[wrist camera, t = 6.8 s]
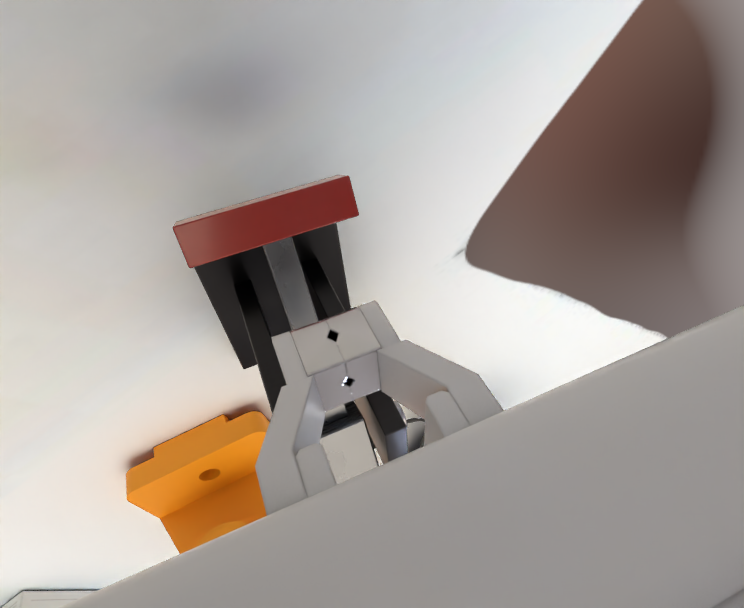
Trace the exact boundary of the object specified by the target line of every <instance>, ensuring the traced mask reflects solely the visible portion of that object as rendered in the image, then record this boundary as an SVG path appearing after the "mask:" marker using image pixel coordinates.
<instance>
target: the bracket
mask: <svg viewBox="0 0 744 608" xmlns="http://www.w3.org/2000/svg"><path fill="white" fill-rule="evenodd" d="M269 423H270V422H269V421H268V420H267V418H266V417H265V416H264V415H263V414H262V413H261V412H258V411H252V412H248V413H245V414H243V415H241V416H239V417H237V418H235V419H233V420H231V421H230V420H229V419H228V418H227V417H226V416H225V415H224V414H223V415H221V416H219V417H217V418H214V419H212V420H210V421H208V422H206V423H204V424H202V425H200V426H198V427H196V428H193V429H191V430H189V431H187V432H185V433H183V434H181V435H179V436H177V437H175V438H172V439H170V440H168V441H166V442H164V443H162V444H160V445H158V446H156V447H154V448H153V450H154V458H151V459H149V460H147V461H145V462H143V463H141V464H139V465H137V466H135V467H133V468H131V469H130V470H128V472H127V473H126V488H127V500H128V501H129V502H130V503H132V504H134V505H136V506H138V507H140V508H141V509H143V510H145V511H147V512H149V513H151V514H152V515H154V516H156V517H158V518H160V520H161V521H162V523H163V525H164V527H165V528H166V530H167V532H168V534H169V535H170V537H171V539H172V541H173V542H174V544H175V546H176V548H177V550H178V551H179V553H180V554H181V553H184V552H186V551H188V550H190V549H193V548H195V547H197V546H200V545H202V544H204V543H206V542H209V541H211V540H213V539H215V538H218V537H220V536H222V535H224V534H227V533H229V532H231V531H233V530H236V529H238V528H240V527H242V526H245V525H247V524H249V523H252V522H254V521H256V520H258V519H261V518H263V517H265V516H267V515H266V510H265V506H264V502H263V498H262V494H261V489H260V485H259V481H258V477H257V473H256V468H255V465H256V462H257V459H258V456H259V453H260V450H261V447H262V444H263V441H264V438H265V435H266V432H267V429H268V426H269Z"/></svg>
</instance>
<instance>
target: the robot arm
mask: <svg viewBox="0 0 744 608" xmlns="http://www.w3.org/2000/svg"><path fill="white" fill-rule="evenodd" d="M271 338H272V343H273V346H274V349H275V352H276V355H277V357H278V360H279V363H280V366H281V369H282V372H283V375H284V378H285V381H286V384H287V385H285V386H283V387H282V388H281V391H280V393H279V396H278V399H277V402H276V405H275V408H274V411H273V414H272V417H271V420H270V423H269V426H268V429H267V432H266V435H265V438H264V441H263V444H262V447H261V450H260V453H259V456H258V459H257V462H256V465H255V468H256V473H257V477H258V481H259V485H260V489H261V494H262V498H263V502H264V506H265V510H266V515H267V516H265V517H263V518H261V519H258V520H256V521H254V522H252V523H249V524H247V525H245V526H242V527H240V528H238V529H236V530H233V531H231V532H229V533H227V534H224V535H222V536H220V537H218V538H215V539H213V540H211V541H209V542H206V543H204V544H202V545H200V546H197V547H195V548H193V549H190V550H188V551H186V552H184V553H181V554H179V555H177V556H175V557H172V558H170V559H168V560H166V561H163V562H161V563H159V564H157V565H154V566H152V567H150V568H147V569H145V570H143V571H141V572H138V573H136V574H134V575H132V576H129V577H127V578H125V579H123V580H120V581H118V582H116V583H114V584H111V585H109V586H107V587H104V588H102V589H100V590H98V591H95V592H93V593H91V594H89V595H86V596H84V597H82V598H80V599H77V600H75V601H73V602H71V603H68V604H66V605H64V606H61V607H59V608H744V305H743V306H740V307H738V308H736V309H733V310H731V311H729V312H727V313H724V314H722V315H720V316H718V317H716V318H713V319H711V320H709V321H706V322H704V323H702V324H699V325H697V326H695V327H693V328H690V329H688V330H686V331H684V332H682V333H679V334H677V335H675V336H673V337H670V338H668V339H666V340H663V341H661V342H659V343H656V344H654V345H652V346H650V347H647V348H645V349H643V350H641V351H638V352H636V353H634V354H632V355H629V356H627V357H625V358H623V359H620V360H618V361H616V362H614V363H611V364H609V365H607V366H605V367H602V368H600V369H598V370H595V371H593V372H591V373H589V374H586V375H584V376H582V377H580V378H577V379H575V380H573V381H571V382H568V383H566V384H564V385H562V386H559V387H557V388H555V389H553V390H550V391H548V392H546V393H543V394H541V395H539V396H537V397H534V398H532V399H530V400H528V401H525V402H523V403H521V404H519V405H516V406H514V407H512V408H510V409H507V410H505V411H504V410H503V409H502V407H501V406H500V405H499V403H498V402H497V400H496V399H495V398H494V396H493V395H492V393H491V392H490V390H489V389H488V388H487V386H486V385H485V383H484V382H483V381H482V379H481V378H480V376H479V375H478V374H477V373H475V372H472V371H470V370H468V369H466V368H464V367H462V366H460V365H458V364H456V363H454V362H452V361H449V360H447V359H445V358H443V357H441V356H439V355H437V354H435V353H433V352H431V351H429V350H426V349H424V348H422V347H420V346H418V345H416V344H414V343H412V342H410V341H408V340H403V341H400V339H399V337H398V336H397V334H396V332H395V331H394V329H393V327H392V326H391V324H390V322H389V321H388V319H387V318H386V316H385V314H384V313H383V311H382V309H381V308H380V306H379V304H378V303H377V302H376V301H372V302H369V303H367V304H364V305H361V306H358V307H355V308H352V309H349V310H347V311H344V312H341V313H339V314H336V315H333V316H331V317H328V318H325V319H324V320H321V321H318V322H315V323H312V324H309V325H306V326H303V327H300V328H297V329H294V330H291V331H288V332H285V333H282V334H279V335H276V336H273V337H271ZM380 390H382V392H384V393H385V394H387V395H388V396H390V397H391V398H393V399H394V400H396V401H397V402H399V403H400V404H402V405H403V406H405V407H406V408H408V409H409V410H411V411H412V412H414V413H415V414H417V415H418V416H420V417H421V418H423V419H424V420H425V435H424V446H423V447H421V448H419V449H417V450H414V451H412V452H410V453H408V454H405V455H403V456H401V457H398V458H396V459H394V460H392V461H389V462H387V463H385V464H383V465H380V466H378V467H376V468H374V469H371V470H369V471H367V472H365V473H362V474H360V475H358V476H356V477H353V478H351V479H349V480H347V481H344V482H342V483H340V484H337V482H336V480H335V477H334V474H333V472H332V469H331V466H330V464H329V461H328V459H327V456H326V453H325V451H324V448H323V445H321V444H320V439H321V434H322V429H323V424H324V419H325V412H327V411H330V410H332V409H334V408H337V407H339V406H341V405H344V404H346V403H348V402H350V401H353V400H355V399H358V398H361V397H363V396H366V395H369V394H372V393H374V392H377V391H380Z"/></svg>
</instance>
